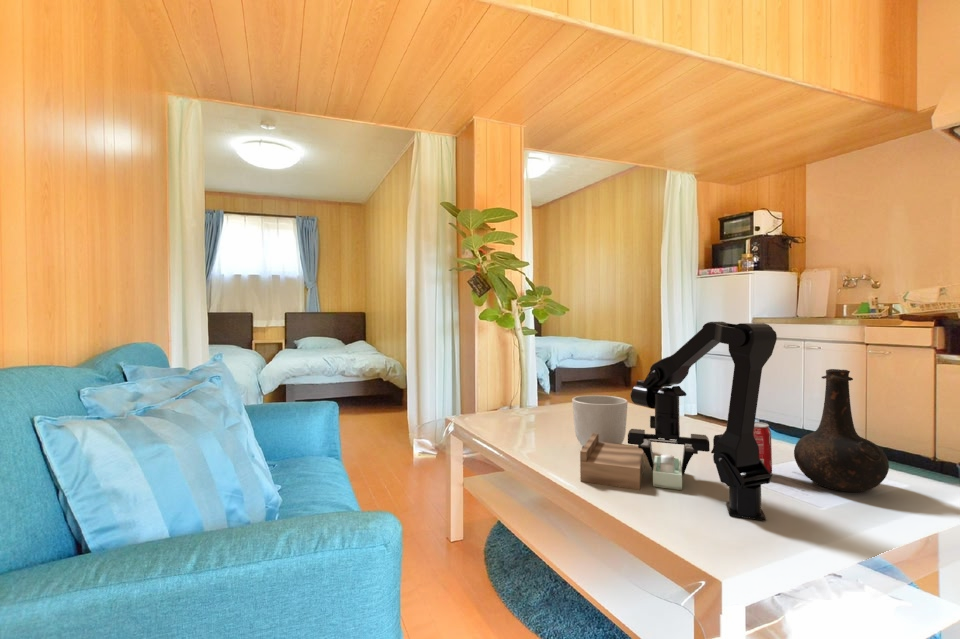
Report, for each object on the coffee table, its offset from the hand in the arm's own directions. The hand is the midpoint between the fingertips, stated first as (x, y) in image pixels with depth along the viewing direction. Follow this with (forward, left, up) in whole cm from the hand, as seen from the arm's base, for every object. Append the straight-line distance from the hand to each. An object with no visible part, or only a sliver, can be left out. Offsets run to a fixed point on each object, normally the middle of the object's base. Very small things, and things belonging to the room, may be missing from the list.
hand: (667, 473), depth 112 cm
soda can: (+13, -21, -2) cm, 25 cm away
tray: (0, 0, -1) cm, 1 cm away
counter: (0, +13, -1) cm, 13 cm away
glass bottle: (+11, -38, -2) cm, 40 cm away
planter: (+22, +20, -2) cm, 30 cm away
